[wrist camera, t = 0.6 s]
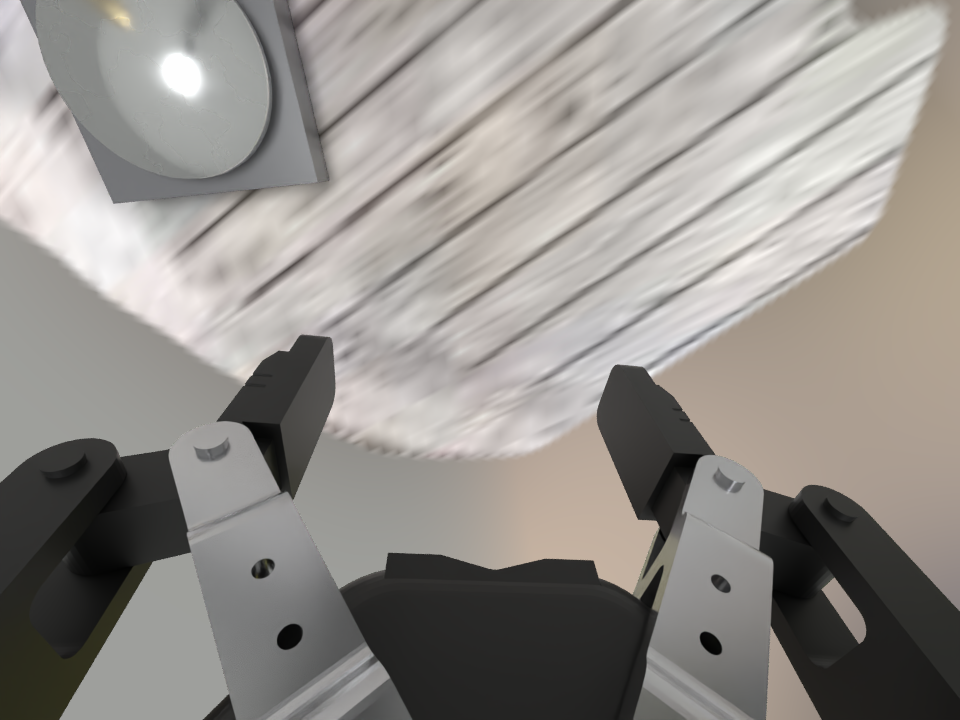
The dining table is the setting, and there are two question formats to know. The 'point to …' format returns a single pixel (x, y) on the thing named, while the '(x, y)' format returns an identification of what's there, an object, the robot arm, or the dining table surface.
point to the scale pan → (161, 79)
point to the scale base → (283, 150)
